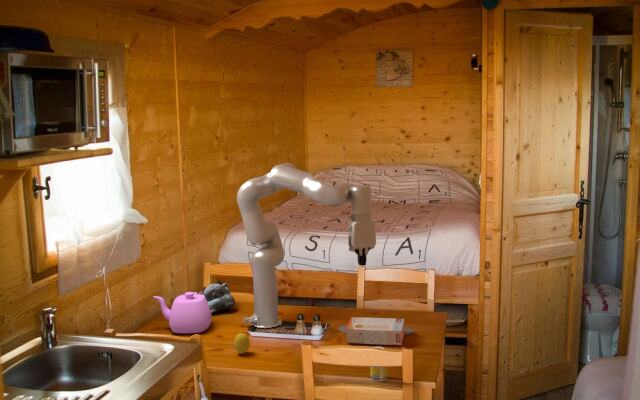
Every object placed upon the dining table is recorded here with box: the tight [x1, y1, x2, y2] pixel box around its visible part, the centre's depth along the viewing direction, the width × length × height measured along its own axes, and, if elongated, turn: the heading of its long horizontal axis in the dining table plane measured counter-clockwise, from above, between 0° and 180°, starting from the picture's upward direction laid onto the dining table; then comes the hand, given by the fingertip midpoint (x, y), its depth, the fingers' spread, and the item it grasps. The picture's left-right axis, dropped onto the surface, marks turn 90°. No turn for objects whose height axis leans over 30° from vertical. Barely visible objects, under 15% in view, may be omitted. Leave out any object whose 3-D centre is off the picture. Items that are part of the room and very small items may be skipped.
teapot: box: [152, 291, 213, 334], centre depth 280 cm, size 23×21×15 cm
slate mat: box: [337, 325, 416, 336], centre depth 272 cm, size 23×20×1 cm
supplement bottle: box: [369, 346, 388, 382], centre depth 225 cm, size 6×6×10 cm
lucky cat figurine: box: [198, 280, 236, 314], centre depth 303 cm, size 15×12×14 cm
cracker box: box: [345, 316, 406, 346], centre depth 262 cm, size 14×6×21 cm
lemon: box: [233, 332, 250, 355], centre depth 250 cm, size 6×6×8 cm
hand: (362, 264), depth 266 cm, fingers closed
